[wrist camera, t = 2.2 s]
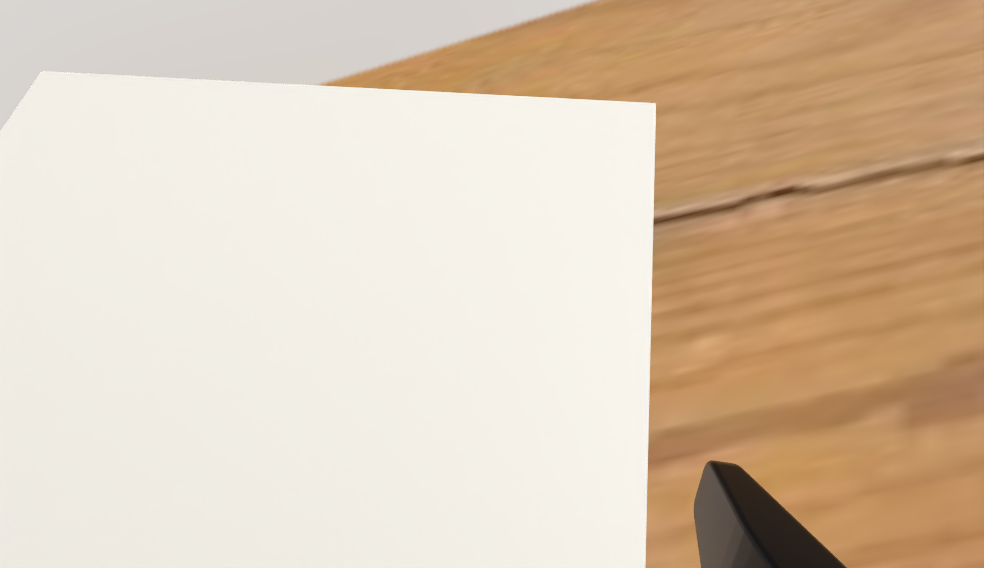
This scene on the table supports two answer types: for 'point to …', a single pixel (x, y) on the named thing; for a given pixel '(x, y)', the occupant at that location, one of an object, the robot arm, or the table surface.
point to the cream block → (322, 327)
